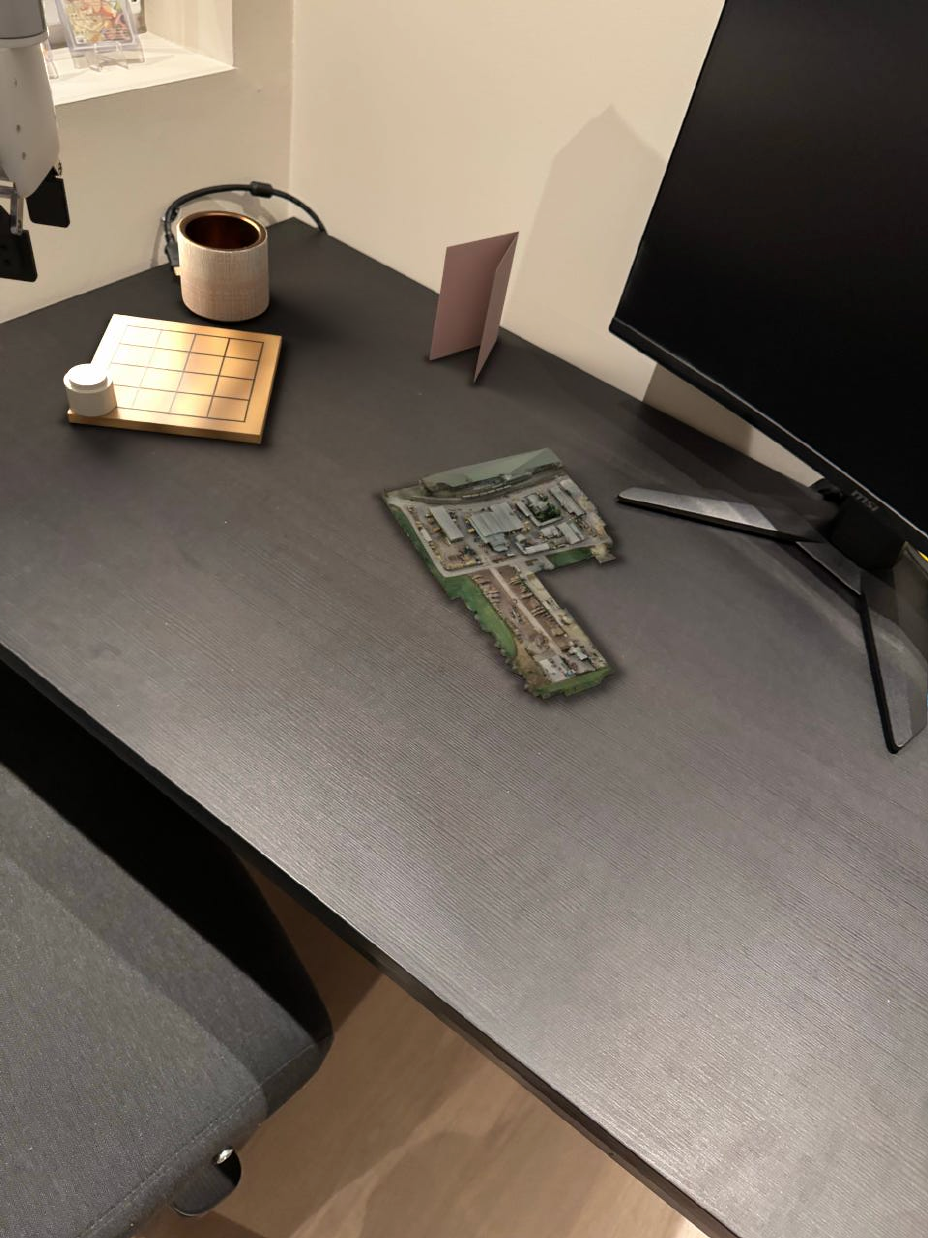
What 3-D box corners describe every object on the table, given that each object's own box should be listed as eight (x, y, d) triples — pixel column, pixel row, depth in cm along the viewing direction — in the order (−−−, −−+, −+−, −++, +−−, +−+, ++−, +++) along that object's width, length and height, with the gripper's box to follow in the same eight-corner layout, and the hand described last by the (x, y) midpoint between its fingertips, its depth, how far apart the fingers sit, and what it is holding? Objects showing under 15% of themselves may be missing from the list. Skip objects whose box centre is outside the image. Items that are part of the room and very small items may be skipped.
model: (525, 712, 75) (529, 702, 74) (381, 497, 90) (382, 485, 89) (704, 643, 84) (710, 633, 83) (545, 458, 99) (549, 447, 98)
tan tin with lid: (63, 413, 89) (56, 384, 86) (75, 387, 92) (69, 358, 89) (110, 419, 89) (105, 390, 87) (121, 392, 92) (116, 364, 90)
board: (69, 422, 90) (67, 412, 89) (115, 322, 103) (113, 313, 102) (260, 443, 93) (260, 434, 92) (281, 344, 106) (281, 335, 105)
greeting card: (492, 336, 115) (514, 227, 104) (527, 365, 112) (554, 256, 100) (425, 356, 109) (441, 243, 98) (461, 387, 106) (482, 273, 95)
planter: (260, 331, 107) (259, 258, 100) (173, 317, 106) (165, 242, 98) (275, 288, 114) (275, 218, 107) (193, 275, 113) (187, 202, 106)
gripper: (-31, -37, 63) (17, 199, 75) (-129, 29, 51) (-52, 294, 64) (75, -16, 64) (106, 212, 76) (3, 53, 52) (53, 309, 65)
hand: (34, 249), depth 70 cm, fingers open, 9 cm apart
